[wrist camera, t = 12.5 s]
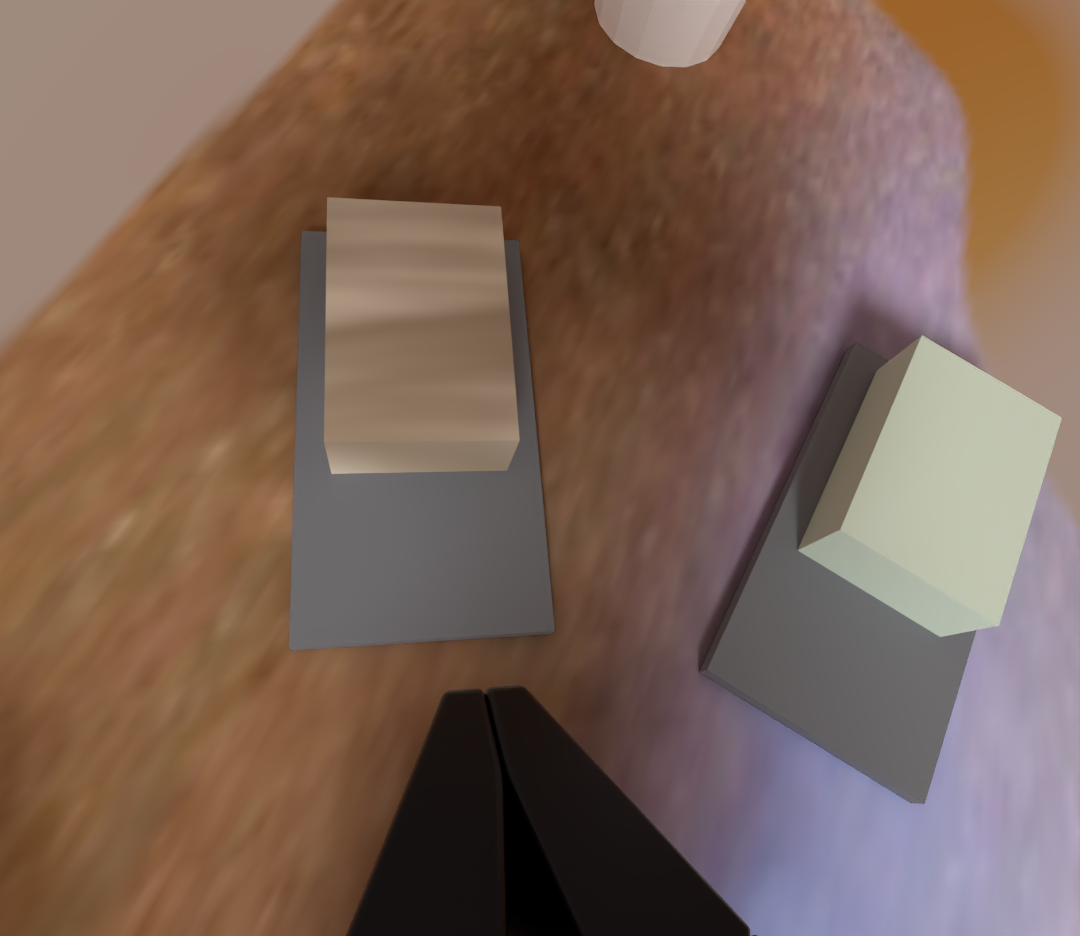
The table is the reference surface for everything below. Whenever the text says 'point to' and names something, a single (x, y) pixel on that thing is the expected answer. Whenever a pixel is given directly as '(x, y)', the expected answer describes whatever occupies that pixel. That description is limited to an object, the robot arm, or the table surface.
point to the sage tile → (934, 490)
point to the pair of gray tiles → (524, 578)
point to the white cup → (668, 28)
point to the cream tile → (417, 339)
